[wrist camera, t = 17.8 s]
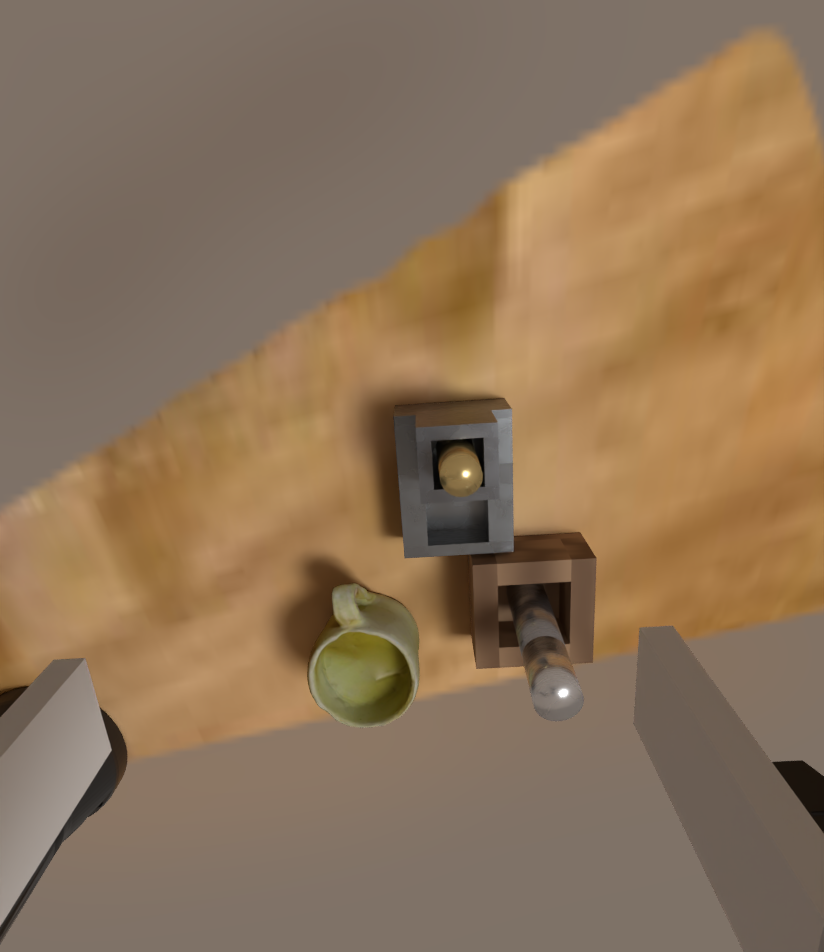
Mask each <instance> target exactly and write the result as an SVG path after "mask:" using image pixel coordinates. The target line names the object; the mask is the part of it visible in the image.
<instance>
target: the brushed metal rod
mask: <svg viewBox="0 0 824 952" xmlns="http://www.w3.org/2000/svg"><path fill="white" fill-rule="evenodd" d="M506 593H507V598H508V602H509V606H510V610H511V615H512V619H513V623H514V627H515V631H516V635H517V639H518V643H519V647H520V652H521V656H522V660H523V664H524V668H525V672H526V676H527V680H528V684H529V689H530V693H531V697H532V701H533V705H534V708H535V710H536V712H537V713H538V714H539V715H540V716H541V717H543V718H544V719H547V720H550V721H563V720H567V719H569V718H572V717H573V716H575V715H576V714H577V713H578V712H579V711H580V710H581V708H582V706H583V702H584V697H583V694H582V691H581V688H580V685H579V683H578V680H577V677H576V674H575V671H574V669H573V666H572V663H571V660H570V657H569V655H568V652H567V649H566V646H565V644H564V641H563V638H562V635H561V632H560V630H559V627H558V624H557V621H556V619H555V616H554V613H553V610H552V607H551V605H550V602H549V599H548V596H547V594H546V591H545V588H544V585H543V583H538V584H520V585H508V587H507V591H506Z"/></svg>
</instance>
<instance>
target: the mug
mask: <svg viewBox="0 0 824 952" xmlns="http://www.w3.org/2000/svg"><path fill="white" fill-rule="evenodd" d="M332 604H333V615H332V617H331V618H330V620H329V621H328V623H327V624H326V626H325V628H324V629H323V631H322V632H321V634H320V635H319V637H318V639H317V640H316V642H315V644H314V646H313V648H312V651H311V654H310V658H309V662H308V672H307V677H308V684H309V689H310V692H311V694H312V696H313V698H314V700H315V701H316V703H317V705H318V706H319V707H320V708H322V709H323V710H325V711H326V712H328V713H329V714H330V715H331V716H332V717H333V718H334V719H335V720H337V721H339V722H341V723H343V724H345V725H347V726H351V727H359V728H364V727H365V728H366V727H367V728H372V727H376V726H384V725H387V724H389V723H390V722H392V721H393V720H395V719H398V718H399V717H401V716H402V715H403V714H404V713H405V712H406V711H407V709H408V708H409V707H410V706H411V704H412V703H413V701H414V699H415V696H416V693H417V689H418V685H419V658H418V649H419V633H418V628H417V625H416V622H415V620H414V618H413V617H412V615H411V613H410V612H409V611H408V610H407V608H405V607H404V606H403V605H402V604H401V603H399V602H398V601H396V600H394V599H392V598H390V597H387V596H384V595H381V594H376V593H372V592H369V591H367V590H366V589H364V588H363V587H360V585H358V584H355V583H352V584H344V585H339V586H337V587H335V588H333V592H332Z"/></svg>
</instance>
